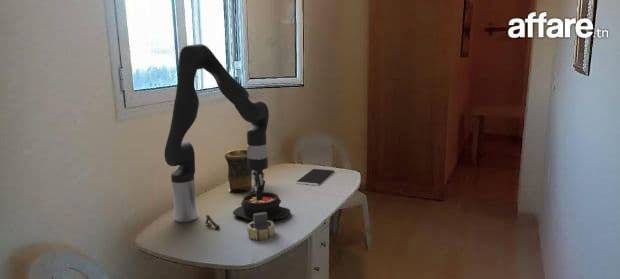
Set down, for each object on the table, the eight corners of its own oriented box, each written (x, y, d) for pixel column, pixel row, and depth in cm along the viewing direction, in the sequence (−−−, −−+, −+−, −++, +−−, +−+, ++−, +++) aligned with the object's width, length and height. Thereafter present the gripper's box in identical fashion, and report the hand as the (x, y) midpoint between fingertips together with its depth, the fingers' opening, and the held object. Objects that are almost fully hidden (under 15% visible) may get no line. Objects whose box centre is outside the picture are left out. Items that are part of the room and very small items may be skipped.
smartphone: (294, 185, 230) (294, 182, 230) (313, 171, 254) (313, 168, 254) (318, 187, 225) (318, 184, 225) (334, 172, 250) (334, 170, 249)
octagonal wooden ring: (246, 231, 171) (245, 221, 171) (271, 227, 174) (270, 218, 174) (250, 241, 162) (249, 231, 161) (276, 237, 165) (276, 227, 164)
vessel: (258, 185, 229) (256, 148, 224) (252, 195, 215) (249, 156, 210) (231, 185, 230) (228, 148, 225) (224, 195, 216) (220, 156, 212)
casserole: (296, 210, 193) (295, 192, 191) (282, 226, 175) (281, 207, 173) (243, 206, 199) (242, 188, 198) (225, 222, 182) (224, 203, 180)
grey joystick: (251, 226, 170) (250, 212, 168) (266, 224, 172) (265, 209, 170) (255, 232, 164) (254, 217, 163) (270, 230, 166) (269, 215, 165)
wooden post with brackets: (206, 221, 181) (208, 213, 179) (218, 233, 177) (219, 224, 174) (203, 222, 179) (204, 214, 177) (214, 234, 175) (216, 226, 173)
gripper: (244, 152, 167) (246, 195, 171) (250, 161, 155) (252, 207, 158) (263, 150, 169) (265, 193, 173) (271, 159, 157) (272, 204, 160)
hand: (259, 199), depth 166 cm, fingers closed
